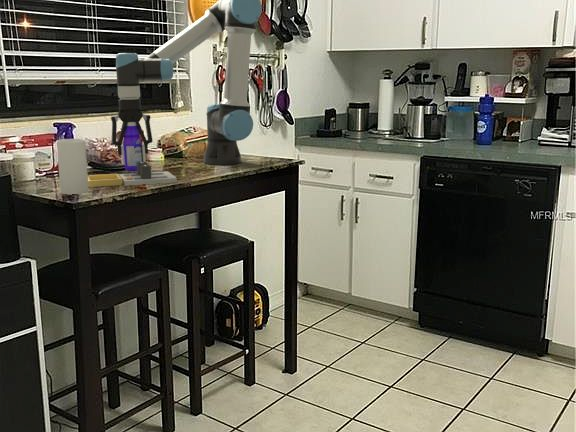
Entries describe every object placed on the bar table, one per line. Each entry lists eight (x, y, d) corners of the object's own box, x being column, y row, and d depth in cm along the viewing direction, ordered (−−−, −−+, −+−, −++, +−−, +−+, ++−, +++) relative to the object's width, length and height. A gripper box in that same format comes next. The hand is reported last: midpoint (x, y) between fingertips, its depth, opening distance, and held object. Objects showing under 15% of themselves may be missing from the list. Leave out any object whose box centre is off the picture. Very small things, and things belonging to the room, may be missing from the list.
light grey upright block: (93, 192, 193) (90, 140, 190) (69, 196, 187) (65, 142, 184) (79, 188, 199) (76, 138, 195) (55, 192, 193) (51, 140, 189)
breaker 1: (145, 173, 217) (145, 161, 216) (147, 174, 214) (146, 162, 213) (137, 173, 216) (136, 162, 215) (138, 175, 213) (138, 163, 212)
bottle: (137, 172, 221) (134, 122, 217) (122, 171, 222) (118, 122, 218) (145, 168, 228) (142, 120, 224) (131, 168, 229) (128, 120, 225)
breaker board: (168, 175, 222) (167, 169, 222) (176, 182, 210) (176, 176, 209) (119, 178, 216) (118, 172, 216) (125, 185, 203) (124, 179, 203)
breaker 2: (149, 176, 210) (149, 164, 209) (151, 178, 208) (150, 166, 207) (140, 177, 209) (140, 165, 208) (142, 178, 207) (141, 166, 206)
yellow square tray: (117, 179, 214) (117, 173, 214) (122, 184, 205) (121, 178, 204) (85, 181, 210) (85, 175, 210) (88, 187, 201) (88, 180, 200)
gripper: (155, 97, 226) (158, 160, 232) (99, 98, 219) (104, 163, 224) (159, 98, 219) (163, 163, 225) (101, 99, 212) (106, 166, 218)
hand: (133, 163), depth 225 cm, fingers closed on bottle, 7 cm apart
